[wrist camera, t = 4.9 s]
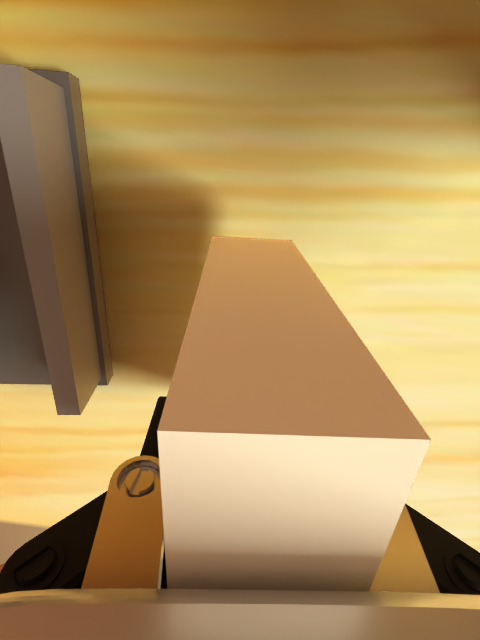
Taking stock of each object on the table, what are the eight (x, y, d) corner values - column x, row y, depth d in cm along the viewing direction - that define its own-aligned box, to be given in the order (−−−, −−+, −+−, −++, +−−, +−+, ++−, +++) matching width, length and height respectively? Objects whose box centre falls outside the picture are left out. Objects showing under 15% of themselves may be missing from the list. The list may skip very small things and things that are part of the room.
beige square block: (291, 240, 13) (430, 439, 4) (267, 437, 17) (303, 750, 8) (212, 236, 13) (157, 431, 4) (208, 435, 17) (177, 751, 8)
